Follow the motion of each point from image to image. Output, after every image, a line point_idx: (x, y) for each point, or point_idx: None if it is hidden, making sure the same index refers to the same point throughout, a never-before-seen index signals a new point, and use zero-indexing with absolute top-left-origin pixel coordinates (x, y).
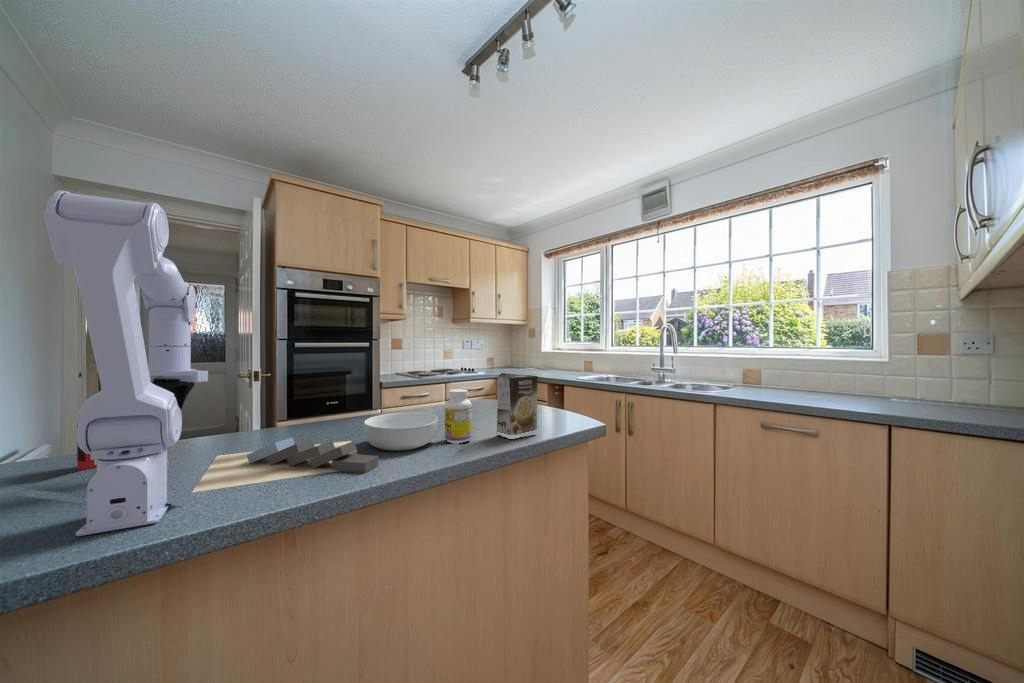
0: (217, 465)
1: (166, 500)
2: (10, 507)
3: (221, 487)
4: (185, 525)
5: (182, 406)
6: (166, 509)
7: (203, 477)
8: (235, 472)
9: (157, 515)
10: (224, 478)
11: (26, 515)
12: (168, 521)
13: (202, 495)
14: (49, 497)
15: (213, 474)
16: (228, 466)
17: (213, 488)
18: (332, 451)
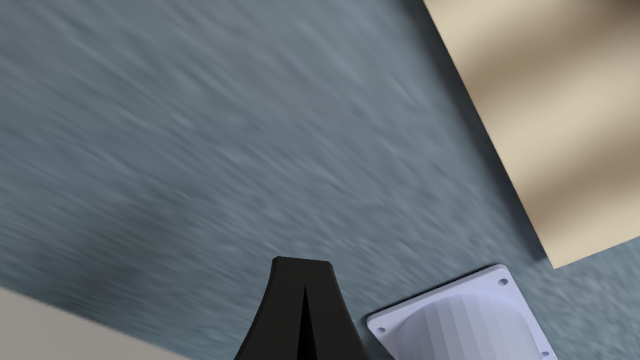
0: (467, 6)
1: (525, 320)
2: (86, 317)
3: (632, 235)
4: (621, 355)
5: (359, 337)
6: (539, 326)
7: (508, 160)
8: (614, 98)
9: (542, 350)
10: (601, 164)
11: (197, 343)
12: (570, 345)
13: None
14: (92, 268)
15: (527, 126)
16: (537, 20)
17: (608, 242)
18: None
